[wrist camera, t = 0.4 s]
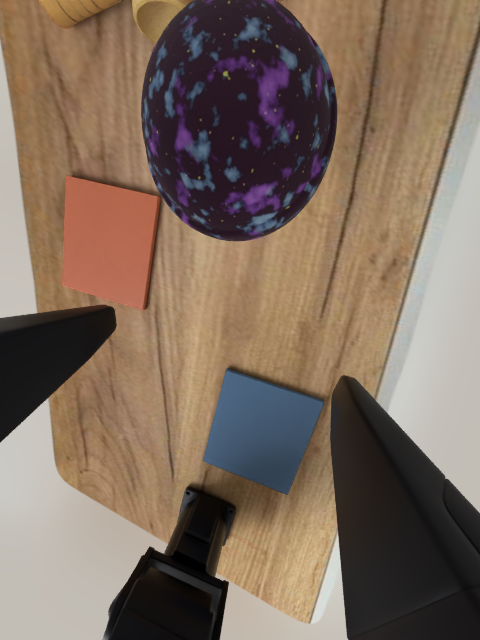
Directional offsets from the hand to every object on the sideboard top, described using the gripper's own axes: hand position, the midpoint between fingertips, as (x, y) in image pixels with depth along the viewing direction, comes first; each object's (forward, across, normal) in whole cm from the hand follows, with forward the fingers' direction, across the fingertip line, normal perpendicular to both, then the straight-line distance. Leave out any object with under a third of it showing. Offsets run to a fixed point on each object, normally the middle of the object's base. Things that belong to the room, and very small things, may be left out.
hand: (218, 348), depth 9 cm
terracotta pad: (+13, +16, +2) cm, 21 cm away
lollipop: (+15, +1, -4) cm, 15 cm away
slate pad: (+10, -3, +17) cm, 19 cm away
